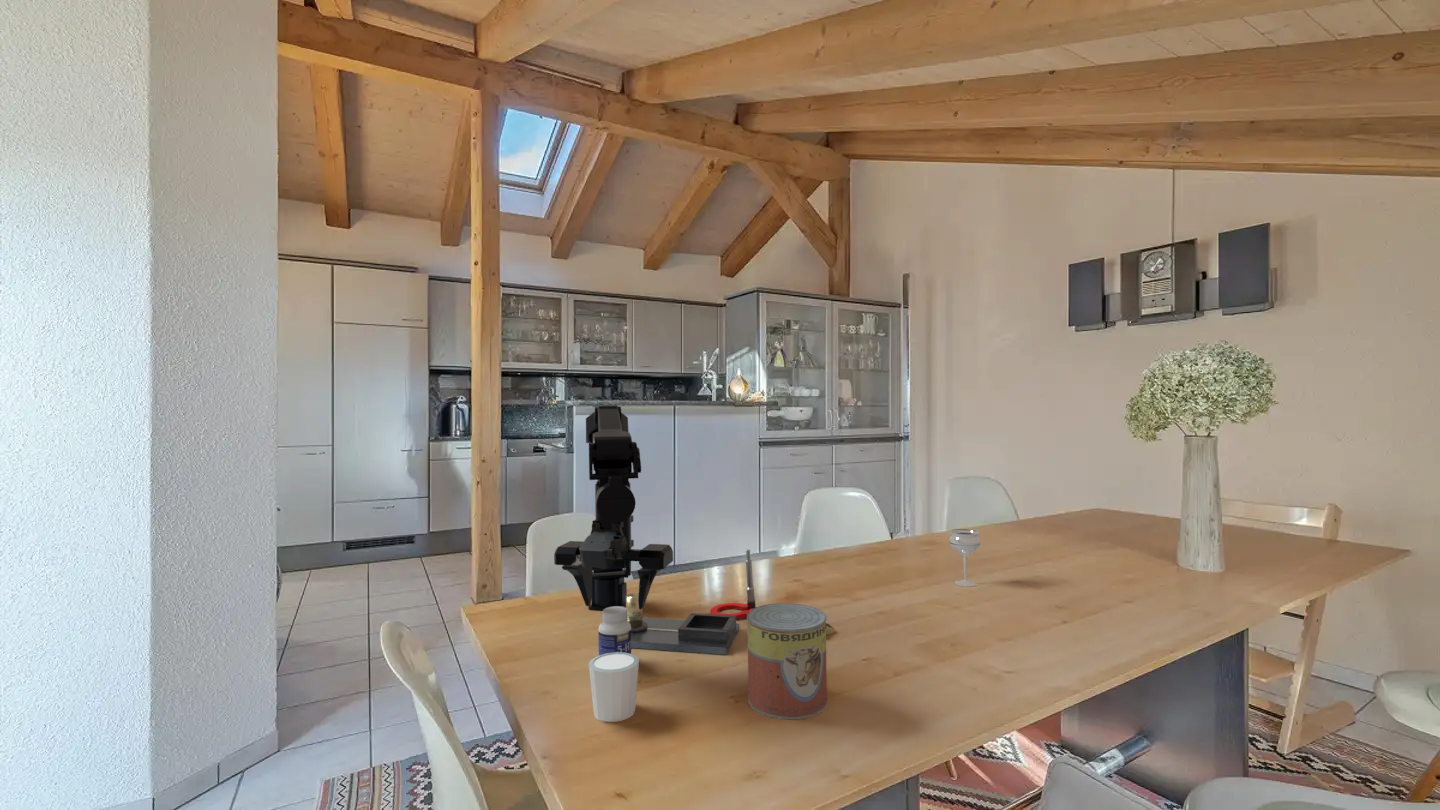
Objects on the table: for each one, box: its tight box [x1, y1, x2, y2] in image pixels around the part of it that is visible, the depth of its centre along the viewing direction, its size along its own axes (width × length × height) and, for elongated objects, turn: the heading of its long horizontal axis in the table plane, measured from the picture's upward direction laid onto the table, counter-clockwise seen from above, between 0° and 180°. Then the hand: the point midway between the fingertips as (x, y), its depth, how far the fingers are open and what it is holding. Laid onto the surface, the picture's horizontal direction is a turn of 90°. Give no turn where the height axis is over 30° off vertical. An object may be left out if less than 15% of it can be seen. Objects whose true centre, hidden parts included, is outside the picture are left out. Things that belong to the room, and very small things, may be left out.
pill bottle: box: [598, 606, 632, 656], centre depth 102 cm, size 5×5×9 cm
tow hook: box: [709, 549, 757, 620], centre depth 126 cm, size 8×13×9 cm
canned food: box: [746, 602, 829, 720], centre depth 89 cm, size 11×11×12 cm
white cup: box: [588, 652, 640, 723], centre depth 86 cm, size 7×7×7 cm
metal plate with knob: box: [625, 592, 740, 656], centre depth 114 cm, size 23×12×7 cm, turn 77°
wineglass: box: [948, 528, 981, 587], centre depth 145 cm, size 7×7×12 cm
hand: (614, 607), depth 102 cm, fingers open, 9 cm apart
